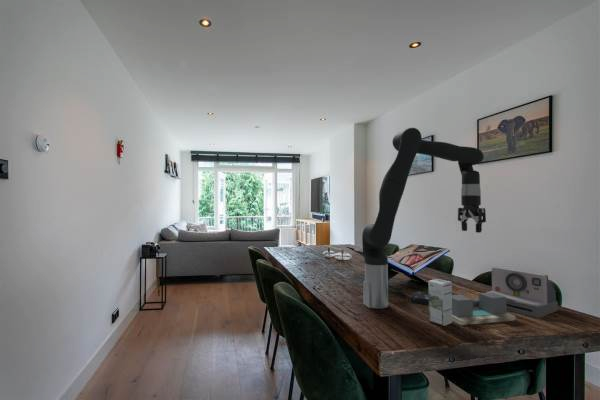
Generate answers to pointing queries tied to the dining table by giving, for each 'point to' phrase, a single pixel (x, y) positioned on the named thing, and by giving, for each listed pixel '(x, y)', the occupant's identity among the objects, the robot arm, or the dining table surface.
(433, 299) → the syrup box
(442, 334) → the dining table surface
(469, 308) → the board
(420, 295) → the disk drive
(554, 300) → the instant camera
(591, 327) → the dining table surface
